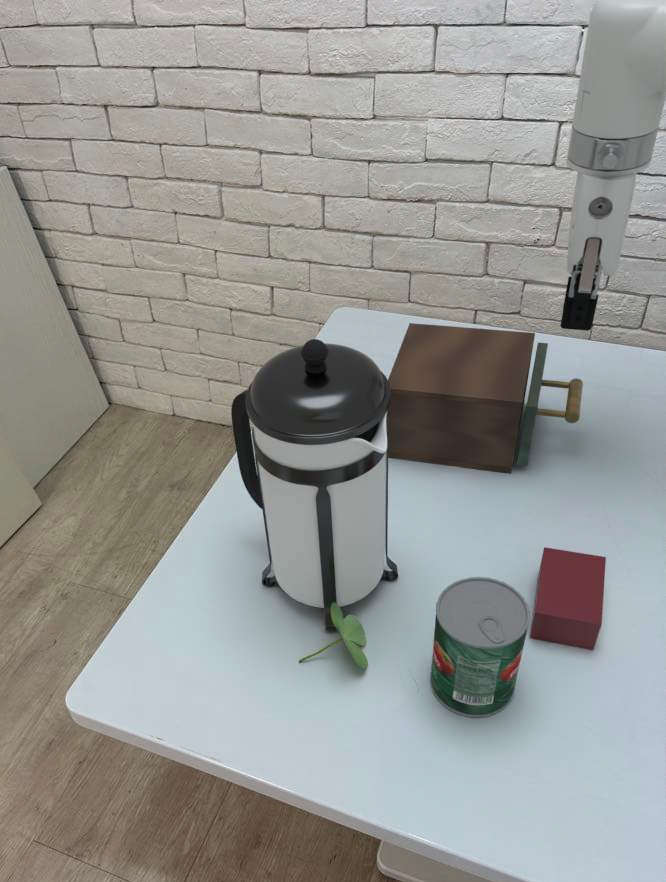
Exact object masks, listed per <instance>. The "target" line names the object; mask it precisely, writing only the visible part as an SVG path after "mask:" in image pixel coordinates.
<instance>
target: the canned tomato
mask: <svg viewBox="0 0 666 882" xmlns="http://www.w3.org/2000/svg"><path fill="white" fill-rule="evenodd" d="M530 621H531V612H530V608H529V605H528V602H527V601H526V599H525V597H524V596H523V595H522V594H521V593H520V592H519V591H518V590H517V589H516V588H514V587H513V586H511V585H510V584H508V583H506V582H504V581H502V580H498V579H495V578H490V577H483V576H475V577H474V576H473V577H466V578H461V579H459V580H457V581H454V582H452V583H451V584H449V585H447V586H446V587H445V588H444V589H443V590H442V592H441V593H440V595H439V596H438V598H437V601H436V604H435V622H434V632H433V645H432V655H431V656H432V658H431V668H430V669H431V670H430V675H429V682H430V688H431V690H432V693H433V695H434V696H435V698H436V699H437V701H438V702H439V703H440V704H441V705H442V706H443V707H445V708H446V709H448V710H449V711H451V712H453V713H455V714H457V715H460V716H464V717H469V718H487V717H491V716H493V715H495V714H498V713H500V712H501V711H502V710H504V709H505V708H506V707H507V706H508V705H509V704H510V702H511V701H512V699H513V697H514V693H515V687H516V683H517V678H518V674H519V669H520V665H521V661H522V656H523V651H524V646H525V641H526V638H527V637H526V636H527V633H528V628H529V625H530Z"/></svg>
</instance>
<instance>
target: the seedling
mask: <svg viewBox="0 0 666 882" xmlns="http://www.w3.org/2000/svg"><path fill="white" fill-rule="evenodd" d="M331 617H332V621H333V624H334V626H335V627H336V628H337V629H338V630H337V631H338V632H339V633H340V634H341V637H340V639H337V640H335V641H333V642H331V643H330V644H328V645H326V646H325V647H323V648H322V649H319V650H318V651H316V652H314V653H312V654H310V655H308V656H305V657H303V658H301V659H299V660H298V663H302V662H304V661H306V660H308V659H310V658H312V657H315V656H317V655H319V654H321V653H322V652H324V651H326V650H327V649H329V648H330V647H332V646H334V645H336V644H339V643H340V642H342V641H344V643H345V645H346V647H347V649H348V651H349V653H350V654H351V656H352V658H353V659H354V661H355V663H356V664H357V665H358V666H359V667H360V668H363V669H367V667H368V666H369V662H368V658H367V656H366V654H365V652H364V650H362V648H360V647H359V646H358V645H360V646H363V647H365V646H366V645H367V639H366V632H365V629H364V627H363V625H362V623H361V621H360V620H359V619H358V617H356V616H355V615H353V614H348V615H346V616H345V617H344V613H343V611H342V609H341V607H339V606H338V605H337V604H336V603H335V602H333V603H332V605H331Z"/></svg>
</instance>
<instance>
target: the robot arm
mask: <svg viewBox="0 0 666 882" xmlns="http://www.w3.org/2000/svg"><path fill="white" fill-rule="evenodd" d="M582 55H583V56H582V61H581V69H580V75H579V80H578V87H577V93H576V99H575V106H574V112H573V118H572V124H571V130H570V136H569V142H568V148H567V155H566V161H565V162H566V165H567V166H568V167H569V168H570V169H571V170H573V171H575V172H577V175H576V180H575V187H574V193H573V199H572V206H571V212H570V213H571V214H570V221H569V232H568V242H567V255H566V257H567V258H566V272H567V273H568V274H569V275H570V276H568V279H567V283H566V288H565V296H564V299H563V307H562V314H561V320H560V328H561V329H563V330H576V331H591V330H592V328H593V323H594V318H595V315H596V309H597V306H598V305H597V304H598V300H599V294H598V292H599V291H598V290H599V287H600V281H601V276H602V273H603V276H606V277H609V278H614V277H615V276H617V274H618V271H619V270H618V269H619V265H620V261H621V254H622V249H623V245H624V241H625V235H626V232H627V226H628V222H629V217H630V213H631V207H632V203H633V198H634V192H635V191H634V190H635V186H636V179H637V174H638V173H642V172H644V171H645V170H646V169H648V168H649V166H650V165H651V162H652V157H653V153H654V150H655V145H656V141H657V135H658V132H659V127H660V124H661V120H662V115H663V111H664V106H665V102H666V0H596V1H595V3H594V5H593V7H592V8H591V11H590V15H589V19H588V24H587V32H586V37H585V44H584V50H583V54H582Z"/></svg>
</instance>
